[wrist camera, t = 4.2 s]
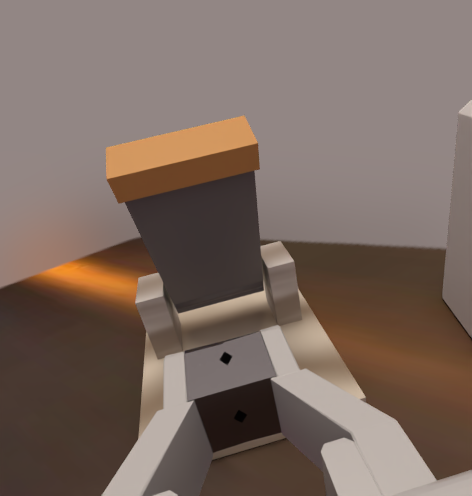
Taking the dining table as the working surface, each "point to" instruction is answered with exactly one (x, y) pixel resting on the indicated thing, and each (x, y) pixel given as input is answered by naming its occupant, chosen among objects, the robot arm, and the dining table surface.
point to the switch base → (236, 332)
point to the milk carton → (460, 226)
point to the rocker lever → (195, 208)
